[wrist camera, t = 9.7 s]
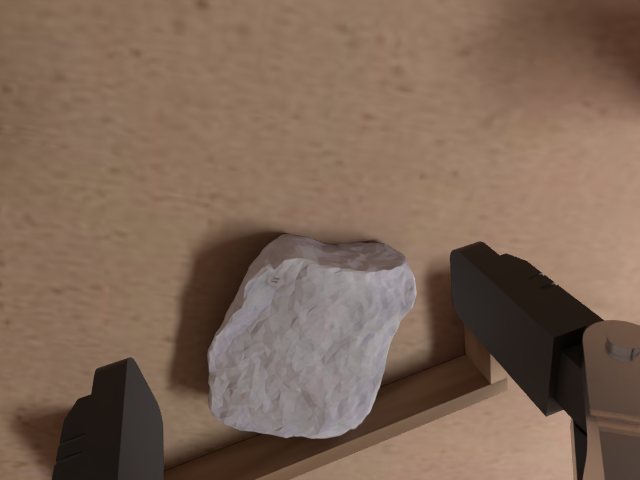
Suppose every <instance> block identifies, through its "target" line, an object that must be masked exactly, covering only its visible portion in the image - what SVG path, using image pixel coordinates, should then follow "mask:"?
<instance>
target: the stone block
mask: <svg viewBox="0 0 640 480" xmlns="http://www.w3.org/2000/svg"><path fill="white" fill-rule="evenodd" d="M416 295H417V292H416V284H415V277H414V275H413V273H412V271H411V269H410V268H409V266H408V264H407V261H406V258H405V256H404V255H403V254H402V253H400V252H398V251H397V250H395V249H393V248H391V247H390V246H388V245H386V244H384V243H372V242H370V243H362V242H358V243H341V244H337V245H331V244H324V243H322V242H319V241H316V240H314V239H312V238H309V237H303V236H296V235H291V234H282V235H281V236H279V237H278V238H277V239H275V240H273V241H272V242H270V243H269V244H268V245H267V246H266V247H265V248H264V249H263V250H262V251H261V253H260V255H259V256H258V257H257V258H256V259H255V260H254V262H253V263H252V264H251V265H250V266H249V268H248V271H247V273H246V275H245V277H244V279H243V281H242V283H241V285H240V287H239V290H238V292H237V294H236V297H235V299H234V301H233V302H232V303H231V305H230V308H229V309H228V311H227V313H226V315H225V319H224V321H223V323H222V325H221V327H220V328H219V329H218V330H217V332H216V334H215V336H214V339H213V341H212V343H211V345H210V347H209V349H208V353H207V357H208V358H207V360H208V365H209V373H210V374H209V380H208V384H209V386H210V390H209V395H208V401H209V403H208V404H209V408H210V410H211V412H212V414H213V416H214V417H215V418H216V419H217V420H219V421H220V422H223V423H224V424H225V425H228V426H230V427H233V428H235V429H238V430H240V431H254V432H258V433H263V434H271V435H276V436H281V437H284V438H288V437H292V436H303V437H307V438H311V439H314V438H322V439H323V438H329V437H335V436H340V435H342V434H344V433H345V432H347V431H348V430H350V429H356V427H357V426H358V425H359V424H361V423H362V421H363V420H364V419H365V417H366V416H367V415H368V414H369V413H370V411H371V409H372V406H373V403H374V401H375V399H376V395H377V392H378V390H379V388H380V384H381V380H382V377H383V373H384V370H385V364H386V359H387V354H388V350H389V347H390V343H391V340H392V338H393V336H394V334H395V333H396V331H397V329H398V326H399V323H400V320H401V319H402V318H403V317H404V316H405V315H406V314H407V313H408V312H409V311H410V310H411V308H412V307H413V305H414V301H415V298H416Z"/></svg>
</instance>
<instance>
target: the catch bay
mask: <svg viewBox="0 0 640 480" xmlns="http://www.w3.org/2000/svg"><path fill="white" fill-rule="evenodd" d="M464 337H465V355H463V356H460V357H457V358H455V359H452V360H450V361H447V362H445V363H442V364H439V365H437V366H434V367H432V368H429V369H427V370H424V371H421V372H419V373H416V374H414V375H411V376H409V377H406V378H403V379H401V380H398V381H396V382H393V383H391V384H388V385H385V386H383V387H380V388H379V390H378V392H377V395H376V399H375V401H374V403H373V406H372V409H371V411H370V413H369V414H368V415H367V416H366V417H365V419H364V420H363V421H362V423H361V424H359V425H358V426H357V427H356V429H350V430H348V431H347V432H345V433H344V434H342V435H340V436H335V437H329V438H323V439H322V438H314V439H311V438H307V437H303V436H292V437H288V438H284V437H281V436H276V435H271V434H263V433H262V434H259V435H257V436H254V437H252V438H249V439H247V440H244V441H241V442H239V443H236V444H234V445H231V446H229V447H226V448H224V449H221V450H218V451H216V452H213V453H211V454H208V455H206V456H203V457H200V458H198V459H195V460H193V461H190V462H188V463H185V464H182V465H180V466H177V467H175V468H172V469H170V470H167V471H164V480H289V479H292V478H294V477H297V476H299V475H302V474H304V473H307V472H309V471H312V470H314V469H316V468H319V467H321V466H324V465H326V464H329V463H331V462H334V461H336V460H338V459H341V458H343V457H346V456H348V455H351V454H353V453H356V452H358V451H360V450H363V449H365V448H368V447H370V446H373V445H375V444H378V443H380V442H382V441H385V440H387V439H390V438H392V437H395V436H397V435H400V434H402V433H404V432H407V431H409V430H412V429H414V428H417V427H419V426H422V425H424V424H426V423H429V422H431V421H434V420H436V419H439V418H441V417H444V416H446V415H448V414H451V413H453V412H456V411H458V410H461V409H463V408H466V407H468V406H470V405H473V404H475V403H478V402H480V401H483V400H485V399H488V398H490V397H492V396H495V395H497V394H500V393H502V392H505V391H507V372H506V371H505V370H504V369H503V367H502V366H501V365H500V364H499V363H498V362H497V361H496V359H495V358H494V357H493V356H492V355H491V354H490V353H489V352H488V350H487V349H486V348H485V347H484V346H483V345H482V344H481V343H480V341H479V340H478V339H477V338H476V337H475V336H474V335H473V334H472V332H471V331H470V330H469V329H468V328H467V327H466V326H465V324H464Z"/></svg>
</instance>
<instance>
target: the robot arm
mask: <svg viewBox="0 0 640 480" xmlns="http://www.w3.org/2000/svg"><path fill="white" fill-rule="evenodd" d="M450 268H451V289H452V301H453V305H454V308H455V311H456V313H457V315H458V317H459V318H460V320H461V321H462V322H463V323H464V324H465V326H466V327H467V328H468V329H469V330H470V331H471V332H472V334H473V335H474V336H475V337H476V338H477V339H478V340H479V341H480V343H481V344H482V345H483V346H484V347H485V348H486V349H487V350H488V352H489V353H490V354H491V355H492V356H493V357H494V358H495V359H496V361H497V362H498V363H499V364H500V365H501V366H502V367H503V369H504V370H505V371H506V372H507V373H508V374H509V375H510V376H511V378H512V379H513V380H514V381H515V382H516V383H517V384H518V385H519V387H520V388H521V389H522V390H523V391H524V392H525V393H526V394H527V396H528V397H529V398H530V399H531V400H532V401H533V402H534V404H535V405H536V406H537V407H538V408H539V409H540V410H541V411H542V413H543V414H544V415H545V416H546V417H547V416H549V415H551V414H554V413H556V412H559V411H561V410H565V411H566V413H567V414H568V415H569V416H570V417H571V425H570V429H571V444H572V460H573V475H574V480H640V326H639V325H636V324H633V323H629V322H625V321H618V320H607V321H604V320H603V319H602V318H600V317H599V316H598V315H596V314H595V313H594V312H592V311H591V310H590V309H589V308H587V307H586V306H585V305H583V304H582V303H581V302H579V301H578V300H577V299H575V298H574V297H573V296H572V295H570V294H569V293H568V292H566V291H565V290H564V289H562V288H561V287H560V286H558V285H555V282H553V281H552V280H551V279H549V278H548V277H547V276H545V275H544V276H543V275H542V272H540V271H539V270H538V269H536V268H535V267H534V266H532V265H531V264H530V263H528V262H527V261H525V260H522V259H520V258H517V257H514V256H512V255H509V254H503V255H499V254H497V253H496V252H495V251H494V250H492V249H491V248H490V247H489V246H487V245H486V244H485V243H483V242H476V243H473V244H470V245H467V246H464V247H461V248H458V249H455V250H453V251H452V252H451V254H450ZM56 462H57V464H56V465H55V467H54V471H53V476H52V480H164V456H163V422H162V416H161V412H160V409H159V406H158V403H157V401H156V399H155V397H154V395H153V393H152V392H151V390H150V388H149V386H148V384H147V382H146V380H145V379H144V377H143V375H142V373H141V371H140V369H139V367H138V365H137V364H136V362H135V361H134V359H133V358H131V357H130V358H127V359H124V360H121V361H118V362H115V363H112V364H109V365H106V366H103V367H100V368H97V369H96V371H95V374H94V381H93V387H92V393H91V395H88V396H85V397H82V398H80V399H78V400H77V401H76V403H75V404H74V406H73V408H72V409H71V411H70V412H69V414H68V416H67V417H66V419H65V420H64V424H63V429H62V434H61V438H60V446H59V448H58V453H57V457H56Z"/></svg>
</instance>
